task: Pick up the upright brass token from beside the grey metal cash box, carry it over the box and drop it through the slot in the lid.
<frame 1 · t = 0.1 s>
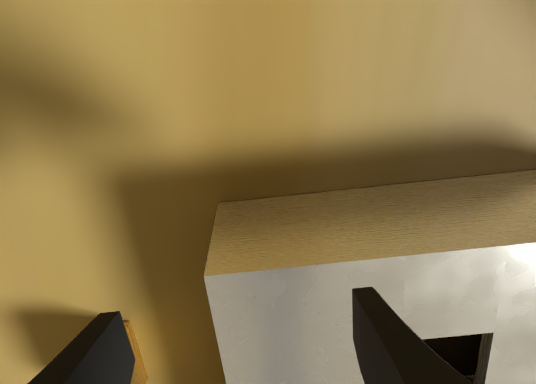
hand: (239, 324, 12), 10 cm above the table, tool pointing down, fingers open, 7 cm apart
cash box: (397, 300, 25), on the table
brass token: (120, 351, 26), on the table
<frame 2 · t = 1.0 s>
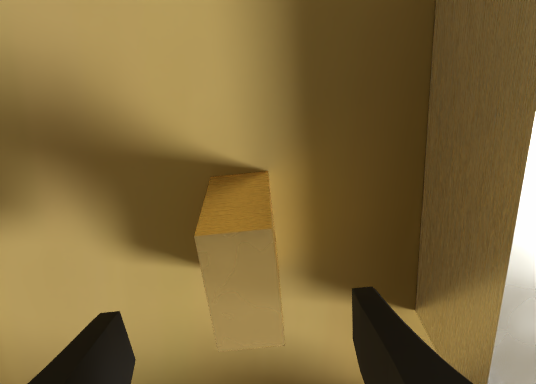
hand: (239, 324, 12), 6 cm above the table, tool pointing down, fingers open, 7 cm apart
brass token: (246, 224, 18), on the table
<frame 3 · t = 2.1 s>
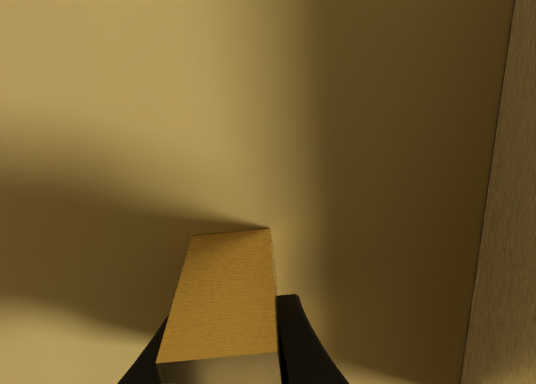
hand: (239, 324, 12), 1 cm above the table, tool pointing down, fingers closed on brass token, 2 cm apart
brass token: (241, 295, 14), on the table, touching gripper
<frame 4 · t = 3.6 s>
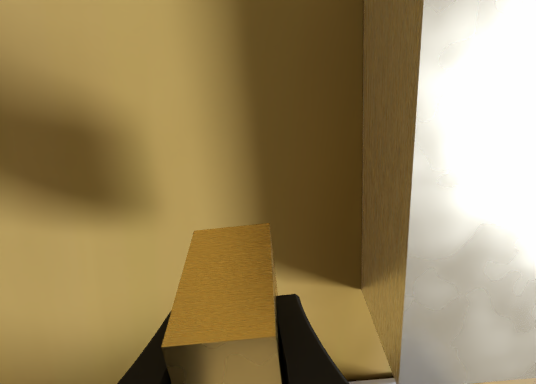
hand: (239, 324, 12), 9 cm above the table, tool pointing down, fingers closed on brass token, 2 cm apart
brass token: (241, 287, 14), point 7 cm above the table, touching gripper
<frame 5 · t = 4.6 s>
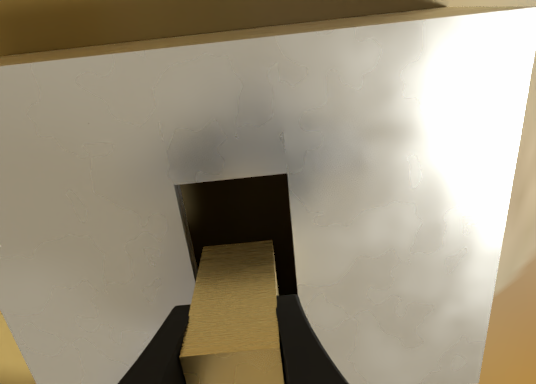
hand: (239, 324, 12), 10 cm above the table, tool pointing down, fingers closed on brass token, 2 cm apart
cash box: (246, 191, 21), on the table
brass token: (246, 298, 15), point 7 cm above the table, touching gripper
when the fingers open (9 cm above the table, at t = 5.1 s): brass token drops 7 cm, resting in cash box.
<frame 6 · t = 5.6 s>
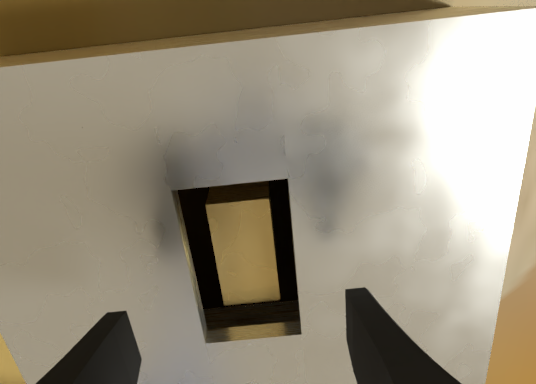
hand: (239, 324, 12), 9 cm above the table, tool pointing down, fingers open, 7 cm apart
cash box: (246, 195, 21), on the table
brass token: (247, 202, 21), resting in cash box
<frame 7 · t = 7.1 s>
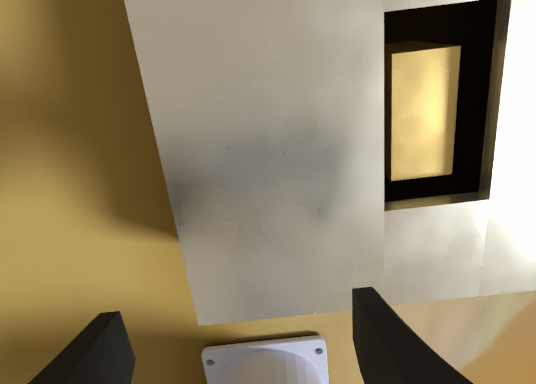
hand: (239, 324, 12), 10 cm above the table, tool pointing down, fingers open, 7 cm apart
cash box: (386, 87, 20), on the table
brass token: (385, 96, 20), resting in cash box
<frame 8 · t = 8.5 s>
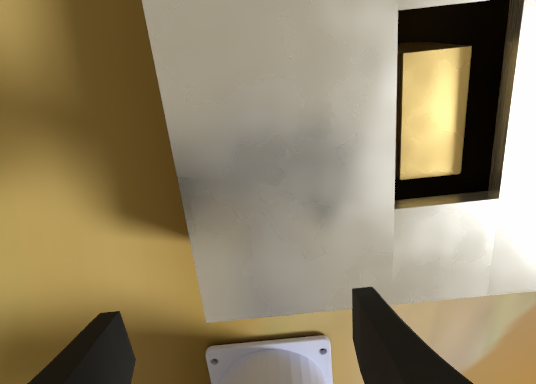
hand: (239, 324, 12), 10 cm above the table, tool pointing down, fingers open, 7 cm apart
cash box: (394, 87, 20), on the table
brass token: (394, 96, 20), resting in cash box
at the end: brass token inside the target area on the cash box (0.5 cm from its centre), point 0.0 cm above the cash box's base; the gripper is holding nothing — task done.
